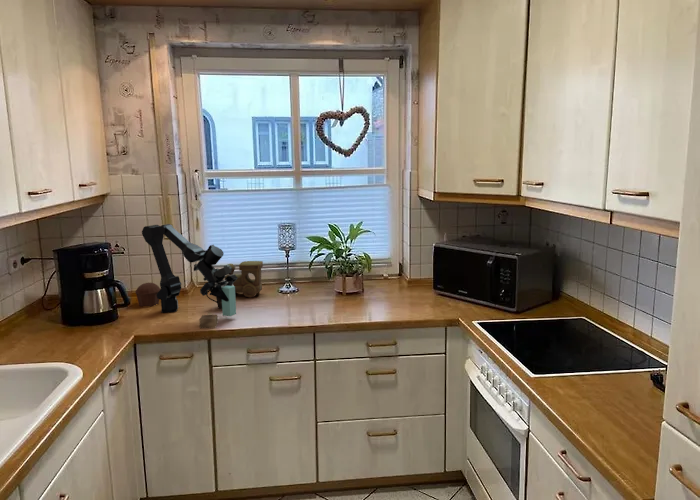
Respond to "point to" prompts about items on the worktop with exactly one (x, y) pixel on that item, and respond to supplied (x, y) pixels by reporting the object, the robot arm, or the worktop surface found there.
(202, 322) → the base block
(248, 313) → the worktop surface
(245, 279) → the wooden toy train
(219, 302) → the coffee mug
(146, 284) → the muffin
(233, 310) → the tall block
